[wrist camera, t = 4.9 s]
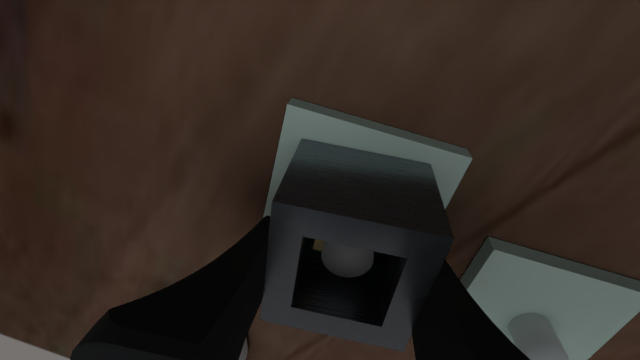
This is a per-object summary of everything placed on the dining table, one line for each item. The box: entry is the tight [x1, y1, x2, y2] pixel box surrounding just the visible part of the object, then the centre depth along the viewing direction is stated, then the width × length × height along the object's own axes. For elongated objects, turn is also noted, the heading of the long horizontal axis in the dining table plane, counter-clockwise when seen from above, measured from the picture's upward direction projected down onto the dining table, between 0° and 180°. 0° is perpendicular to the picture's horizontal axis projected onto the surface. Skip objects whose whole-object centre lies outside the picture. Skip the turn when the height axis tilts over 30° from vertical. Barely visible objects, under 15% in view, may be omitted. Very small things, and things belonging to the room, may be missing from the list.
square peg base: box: [263, 98, 473, 277], centre depth 15 cm, size 8×8×4 cm
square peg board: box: [460, 237, 640, 360], centre depth 17 cm, size 8×8×4 cm
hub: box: [260, 138, 454, 352], centre depth 14 cm, size 6×6×5 cm
